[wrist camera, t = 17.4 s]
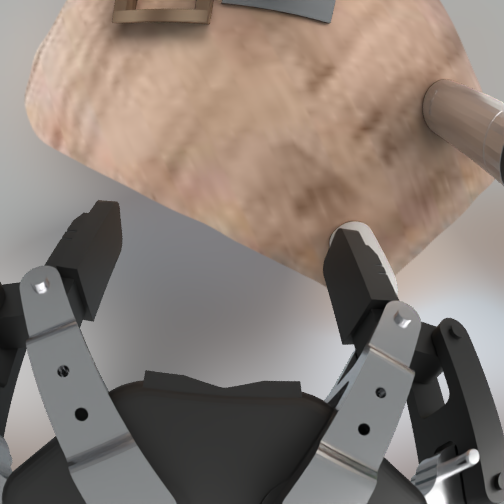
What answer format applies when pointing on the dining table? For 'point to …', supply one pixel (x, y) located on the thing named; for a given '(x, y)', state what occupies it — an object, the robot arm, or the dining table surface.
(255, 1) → the charcoal mat
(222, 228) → the dining table surface
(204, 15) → the walnut collar
